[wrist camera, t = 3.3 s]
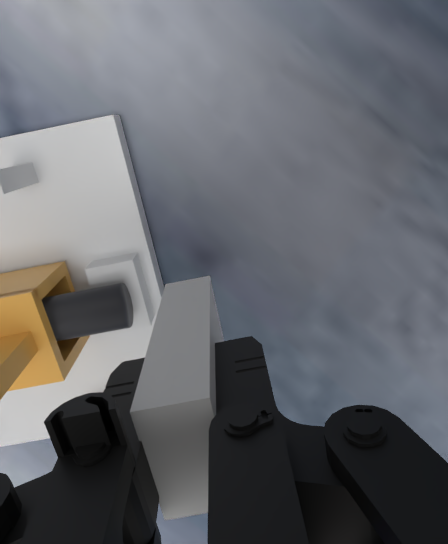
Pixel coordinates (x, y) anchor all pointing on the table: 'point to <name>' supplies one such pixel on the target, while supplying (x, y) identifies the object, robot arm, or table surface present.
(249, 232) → the table surface
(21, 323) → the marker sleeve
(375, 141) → the table surface
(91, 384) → the slider track board
